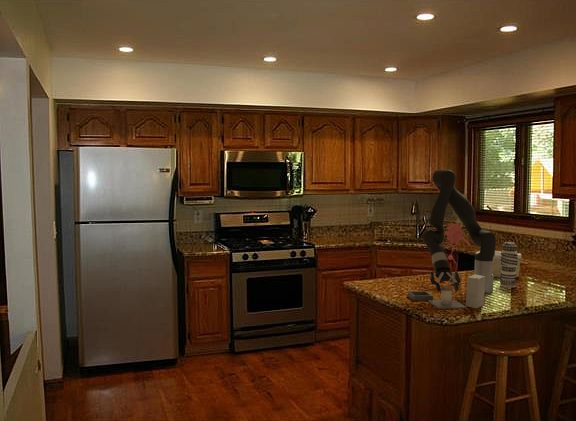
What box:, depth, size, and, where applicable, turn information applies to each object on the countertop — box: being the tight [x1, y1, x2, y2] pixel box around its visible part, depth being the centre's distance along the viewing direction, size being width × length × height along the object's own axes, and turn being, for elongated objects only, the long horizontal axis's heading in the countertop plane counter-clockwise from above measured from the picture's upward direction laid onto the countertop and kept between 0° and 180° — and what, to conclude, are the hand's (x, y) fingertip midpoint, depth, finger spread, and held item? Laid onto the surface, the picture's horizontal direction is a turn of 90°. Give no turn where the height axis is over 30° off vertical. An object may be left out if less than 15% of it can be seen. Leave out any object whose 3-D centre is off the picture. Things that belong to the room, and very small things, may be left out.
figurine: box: [439, 222, 472, 285], centre depth 316 cm, size 15×26×35 cm, turn 34°
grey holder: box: [407, 290, 434, 302], centre depth 276 cm, size 10×10×2 cm
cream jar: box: [440, 285, 453, 305], centre depth 263 cm, size 5×5×8 cm
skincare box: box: [465, 273, 485, 309], centre depth 261 cm, size 8×6×15 cm
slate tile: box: [427, 299, 467, 310], centre depth 264 cm, size 14×14×1 cm
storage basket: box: [475, 250, 522, 279], centre depth 338 cm, size 24×16×15 cm
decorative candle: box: [499, 241, 518, 288], centre depth 308 cm, size 9×9×25 cm
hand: (448, 290), depth 262 cm, fingers open, 8 cm apart
